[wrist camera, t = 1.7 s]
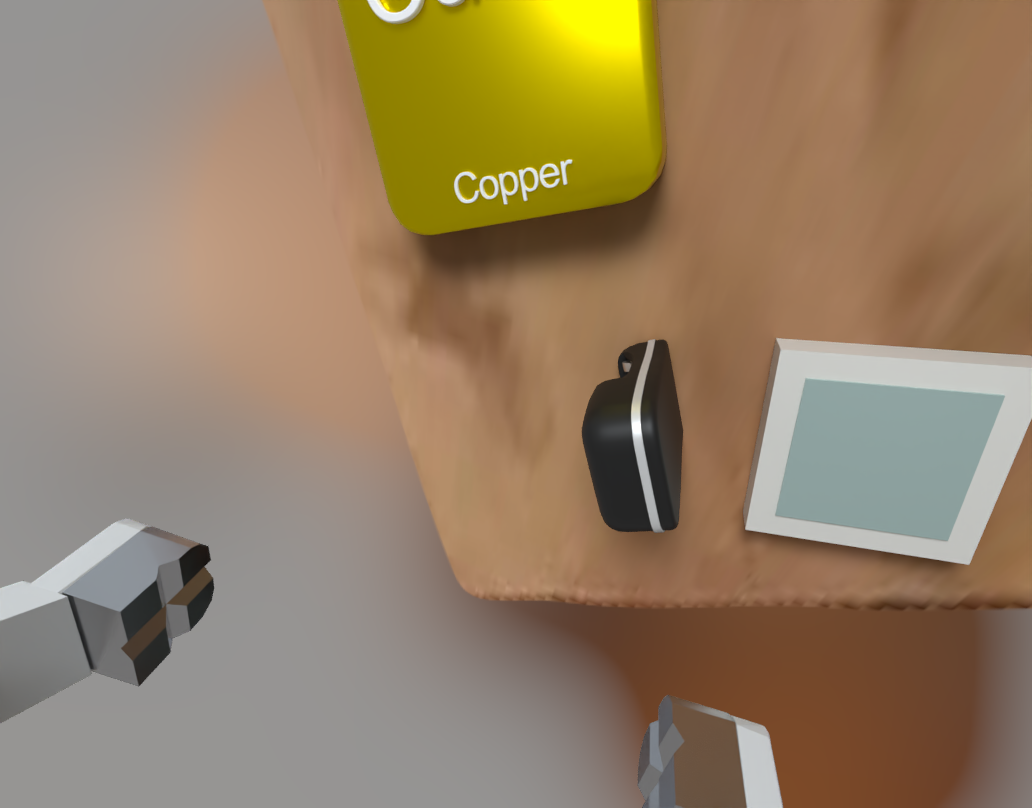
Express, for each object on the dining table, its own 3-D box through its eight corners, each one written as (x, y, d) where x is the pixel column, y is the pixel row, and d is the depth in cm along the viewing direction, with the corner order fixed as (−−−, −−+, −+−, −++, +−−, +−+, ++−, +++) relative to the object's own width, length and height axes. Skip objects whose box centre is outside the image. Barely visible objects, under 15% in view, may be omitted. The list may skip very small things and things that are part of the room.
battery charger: (604, 343, 34) (566, 423, 24) (666, 332, 33) (653, 413, 23) (626, 441, 37) (599, 550, 27) (684, 435, 35) (679, 548, 25)
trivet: (1030, 355, 28) (1054, 370, 26) (954, 542, 33) (970, 566, 31) (776, 338, 31) (781, 350, 29) (742, 511, 36) (745, 531, 34)
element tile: (428, 231, 35) (392, 243, 31) (362, -55, 30) (307, -87, 25) (670, 189, 30) (665, 196, 26) (645, -165, 24) (634, -228, 20)
